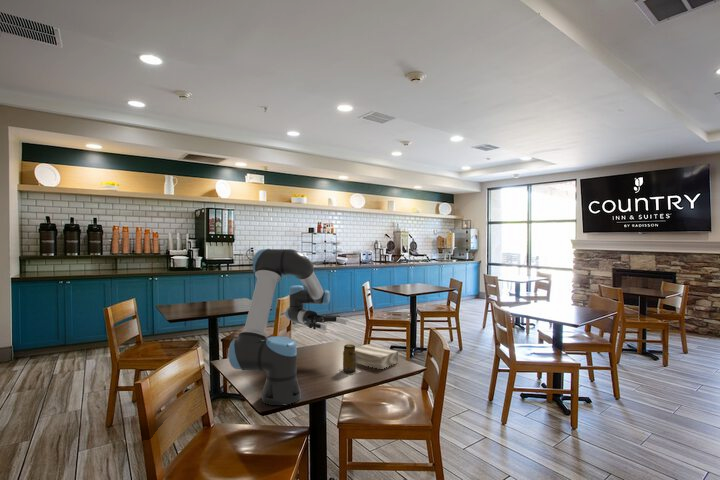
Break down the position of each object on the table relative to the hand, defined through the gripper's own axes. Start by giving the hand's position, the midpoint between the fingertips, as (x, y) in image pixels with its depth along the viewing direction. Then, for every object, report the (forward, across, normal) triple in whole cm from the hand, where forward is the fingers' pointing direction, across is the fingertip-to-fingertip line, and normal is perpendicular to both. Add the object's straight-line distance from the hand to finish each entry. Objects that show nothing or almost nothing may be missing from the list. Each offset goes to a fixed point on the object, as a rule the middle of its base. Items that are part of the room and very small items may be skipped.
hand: (336, 324), depth 188 cm
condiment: (+10, 0, -21) cm, 23 cm away
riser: (+9, -18, -21) cm, 29 cm away
